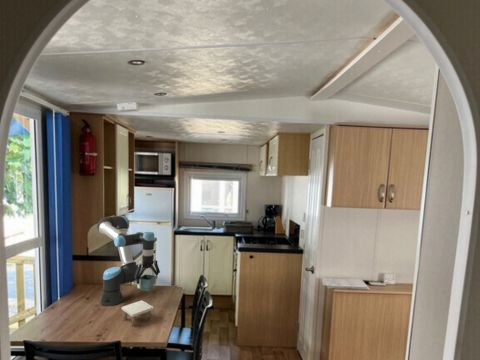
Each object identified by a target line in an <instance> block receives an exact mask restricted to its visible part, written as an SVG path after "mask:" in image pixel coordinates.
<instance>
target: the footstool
mask: <svg viewBox="0 0 480 360" xmlns="http://www.w3.org/2000/svg"><path fill="white" fill-rule="evenodd" d="M121 310H122V311H123V321H127V320H128V315H129V316H130V317H131V327H135V326H136V317H137V316H139V315H141V316H142V315H143V314H145V313H147V314H146V315H147V318H146V319H147V321H151V319H152V318H151V317H152V311H153V310H154V306H152V305H150V303H147V302H146V301H144V300H139V301H135V302H132V303H129V304H127V305H123V306H121Z"/></svg>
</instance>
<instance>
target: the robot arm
mask: <svg viewBox="0 0 480 360" xmlns="http://www.w3.org/2000/svg"><path fill="white" fill-rule="evenodd" d="M129 228H130V221H129V219H128V217H127V216H125V215H118V216H117V215H116V216H105V217H102V218H101V219H100V220H98V223H97V224H96V229H97V231H98V232H99V233H100V234H102V235H106V236H107V237H108V238H110V239H111V240H113V244H114V246H115V247H116V248H117V250H118V253H119V258H120V263H121V265H120V266H113V267H110V268H107V269H105V270H104V272H103V275H102V293H101V295H100V299H99V304H100V305H101V306H104V307H110V306H116V305H119V304H121V303H122V302H123V300H124V295H123V294H122V290H121V289H122V288H121V287H122V285H127V284H130V283H134V282H136V284H137V286H136V288H137V289H139V290H141V288H140V286H141V279H140V277H142V276H143V275H144V272H145V271H146V270H147V269H151V271H152V272H153V275H155V276H156V279H155V284H154V285H156V284H157V280H158V275H159V274H160V273H161V271H160V267H159V265H158V264H159V263H158V260H156V259H154V257H155V255H154V254H155V253H154V252H155V233H154V232H153V231H146V232H143V231H142V232H140V231H136V233H131V234H127V232H128V230H129ZM135 245H142V256H141V257H142V259H141V260H142V262H141V263H137V262H136V261H134V257H133V254H132V249H131V246H135Z"/></svg>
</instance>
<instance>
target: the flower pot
mask: <svg viewBox="0 0 480 360" xmlns="http://www.w3.org/2000/svg"><path fill="white" fill-rule="evenodd" d="M140 279H141V286H140V290H141V291H144V292H149V291H151V290H152V289H153V287H154V286H155V285H156V284H155V279H156V276H155V275H154V274H147V273H146V274H142V276H141V277H140ZM156 280H157V279H156Z"/></svg>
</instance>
